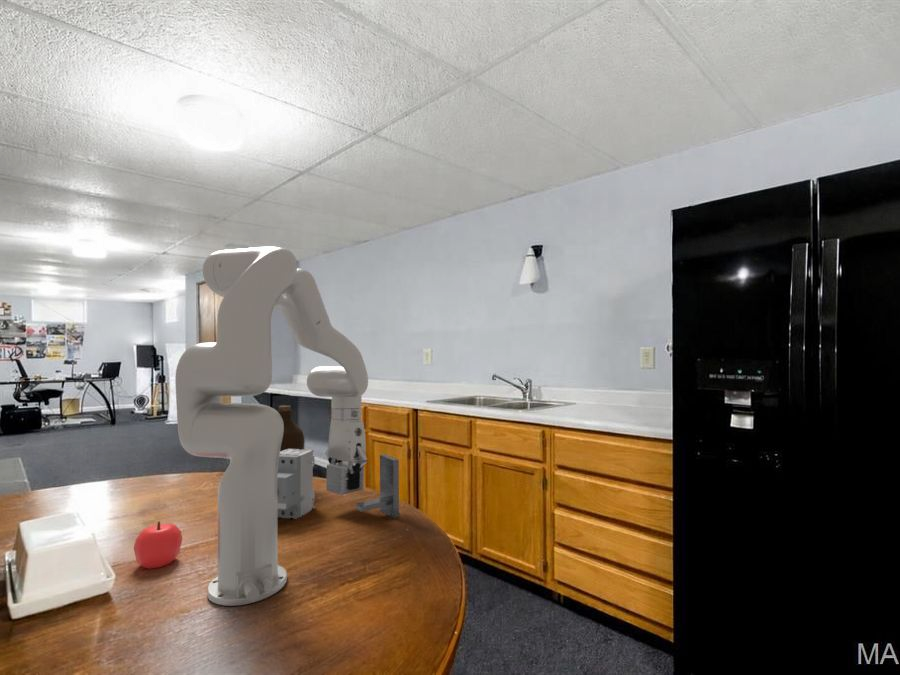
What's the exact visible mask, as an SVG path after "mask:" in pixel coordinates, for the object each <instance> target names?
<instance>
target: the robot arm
mask: <svg viewBox="0 0 900 675" xmlns="http://www.w3.org/2000/svg"><path fill="white" fill-rule="evenodd" d="M297 262H298V261H297V258H296V255H294V253H293V252H292V251H290V250H289V249H287V248H284V247H280V246H278V247H277V246H258V247H257V246H256V247H248V248H247V247H246V248H234V249H223V250H218V251H215V252H212V253H210V254H209V255H208V256H207V257H206V259H205V260H204V262H203V264H202V277H203V279H204V282H205V283H206V285H207V287H208V288H209V290H211V291H212V292H213V293H215V294H217V295H218V296H220V297H222V299H221V302H220V304H219V308H218V309H217V310H218V311H217V323H216V324H217V326H216V328H217V329H216V330H217V332H216V342H215V341H213V342H211V341H210V342H200V343H196V344H194V345H191V346H189V347H188V348H187V349H186V350H185V351H184V352H183V353H182V355H181V356H180V358H179V360H178V363H177V366H176V369H175V380H174V381H175V399H176V400H175V401H176V402H175V404H176V417H177V418H176V420H177V421H176V422H177V433H178V439H179V443H180V445H181V447H182V448H183V449H184V450H185V452H187V453H188V454H190V455H192V456H195V457H201V458H212V459H214V458H216V459H218V458H219V459H226V460H230V461H229V465H228V466H227V468H226V470H225V471H224V473H223V474H222V476H221V478H220V480H219V484H218V488H217V576H216V577H214V578H213V579H212V580H211V581H210V582H209V584H208V586H207V590H206V592H207V598H208V599H209V601H210V602H212V603H214V604H217V605H218V606H225V607H226V606H227V607H229V606H230V607H232V606H234V607H235V606H244V605H249V604H252V603H253V604H254V603H257V602H260V601H263V600H265V599H267V598H269V597H271V596H273V595H274V594H277V593H278V592H280V590H281V589H282V588H284V586H285V584H286V583H287V579H288V572H287V570H286V569H285V568H284V567H283V566H281V565H279V564H278V563H279V561H278V554H279V553H278V547H279V546H278V543H279V542H278V532H279V531H278V521H279V520H278V518H279V517H278V492H277V486H278V462H279V454H280V448H281V443H282V439H283V432H284V424H283V420H282V417H281V415H280V414H279V413H278V410H276V408H273V407H271V406H268V405H266V404H263V403H262V404H260V403H251V402H250V403H249V402H248V403H247V402H246V403H245V402H243V403H241V402H240V403H239V402H233V403H231V402H230V403H228V402H227V403H225V402H223V397H253V396H254V397H255V396H258V395H261V394H263V393H265V392H266V391H268V389H269V387H270V385H271V382H272V377H273V354H272V351H273V350H272V327H271V326H272V324H271V323H272V314H273V311H274V310H281V312H282V313H283V315H284V318H285V320H286V322H287V324H288V328H289V330H290V332H291V334H292V336H293V339H294V340H295V343H297V344H298V345H299V346H301V347H303V348H305V349H307V350H309V351H313V352H314V353H317V354H321V355H323V356H325V357H327V358H329V359H332V360H333V361H335V362H337V363H338V364H339V365H320V366H319V365H318V366H316V367H314V368H313V369H311V370H310V371H309V372H308V374H307V378H306V386H307V388H308V391H310V393H312V395H315V396H316V397H321V398H322V397H323V398H331V405H330V406H331V410H330V414H331V415H330V425H329V431H328V441H327V442H328V443H327V444H328V445H327V449H326V451H325V456H326V458H327V460H328V461H327V462H328V463H329V464H334V463H339V462H344V461H346V462H348V465H349V470H350V473H349V474H348V490H353V489H357V488H359V487H360V472H361V471H362V468H363V467H364V468H365V465H366V464H367V463H368V458H367V455H366V454H367V453H366V450H367V448H366V447H367V445H366V444H367V443H366V432H365V425H364V420H362V396H363V395H364V394H365V393H366V392H367V390H368V385H369V376H368V372H367V368H366V364H365V361H364V358H363V355H362V352H361V351H360V350H359V348H358V347H357V345H355V344H354V343H353V342H352V341H351V340H349V338H347V337H346V336H345V335H344V334H343V333H342V332H340V331H339V330H337V329H336V328H334V327H333V325H332V323H331V320H330V318H329V315H328V312H327V309H326V306H325V304H324V301H323V298H322V296H321V293H320V291H319V287H318V285H317V282H316V280H315V277H314V276H313V274H312V273H310V272H309V271H308V270H306V269H303V268H298V263H297ZM353 463H355V464H356V465H355V466H353Z"/></svg>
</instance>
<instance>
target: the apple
mask: <svg viewBox="0 0 900 675" xmlns="http://www.w3.org/2000/svg"><path fill="white" fill-rule="evenodd" d="M182 543H183V535H182V532H181V529H180V528H179V527H178V526H177V525H176V524H173V523H170V522H167V523H161V522H160V520H158V521H157V524H155V525H151V526H148V527H146V528H144V529H143V530H142V531H141V532H140V533H139V535H138V536H137V537H136V539H135V542H134V546H133V551H134V556H135V560H136V563H137V565H140V566H142V567H143V568H145V569H148V570H151V569H160V568H162V567H164V566H168V565H170V564H171V563H172V562H174V560H175V559H176V558H177V557H178V556H179V554H180V552H181V547H182Z"/></svg>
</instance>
